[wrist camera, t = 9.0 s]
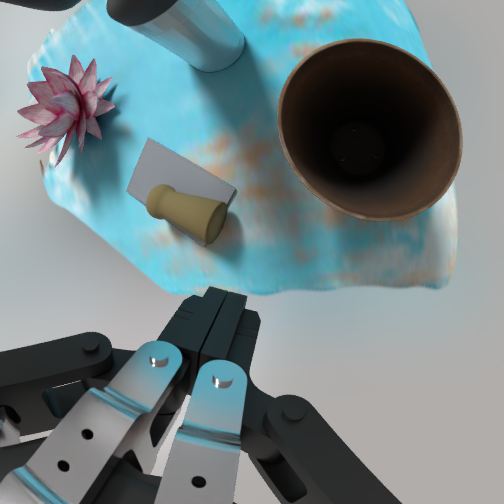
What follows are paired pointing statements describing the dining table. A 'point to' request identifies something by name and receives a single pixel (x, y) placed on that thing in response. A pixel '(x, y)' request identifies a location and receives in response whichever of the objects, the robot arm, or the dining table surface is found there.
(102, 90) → the decorative flower
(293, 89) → the plant pot
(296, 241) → the dining table surface
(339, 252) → the dining table surface
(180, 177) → the mat
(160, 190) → the cork
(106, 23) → the dining table surface
